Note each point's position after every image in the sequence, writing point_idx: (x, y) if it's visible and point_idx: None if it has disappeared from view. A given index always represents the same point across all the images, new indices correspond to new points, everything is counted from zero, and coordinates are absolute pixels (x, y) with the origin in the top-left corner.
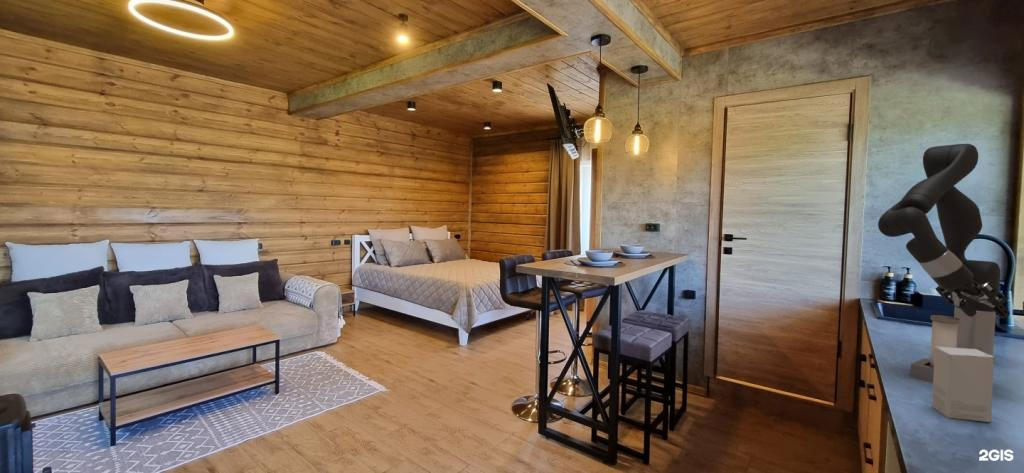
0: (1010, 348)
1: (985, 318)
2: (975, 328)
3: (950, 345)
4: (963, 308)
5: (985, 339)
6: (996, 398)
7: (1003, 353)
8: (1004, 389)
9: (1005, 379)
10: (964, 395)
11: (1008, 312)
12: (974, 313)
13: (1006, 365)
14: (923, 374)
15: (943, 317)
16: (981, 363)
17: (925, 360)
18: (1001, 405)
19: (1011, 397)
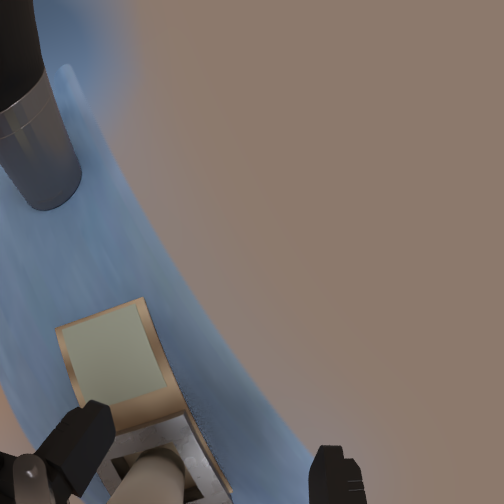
0: (66, 67)
1: (35, 108)
2: (31, 145)
3: None
4: (85, 484)
5: (56, 149)
6: (256, 433)
7: (67, 94)
8: (206, 346)
9: (151, 257)
10: None
11: (356, 470)
12: (108, 418)
13: (96, 150)
14: None
15: None
16: None
17: (103, 468)
18: (291, 462)
19: (252, 391)
